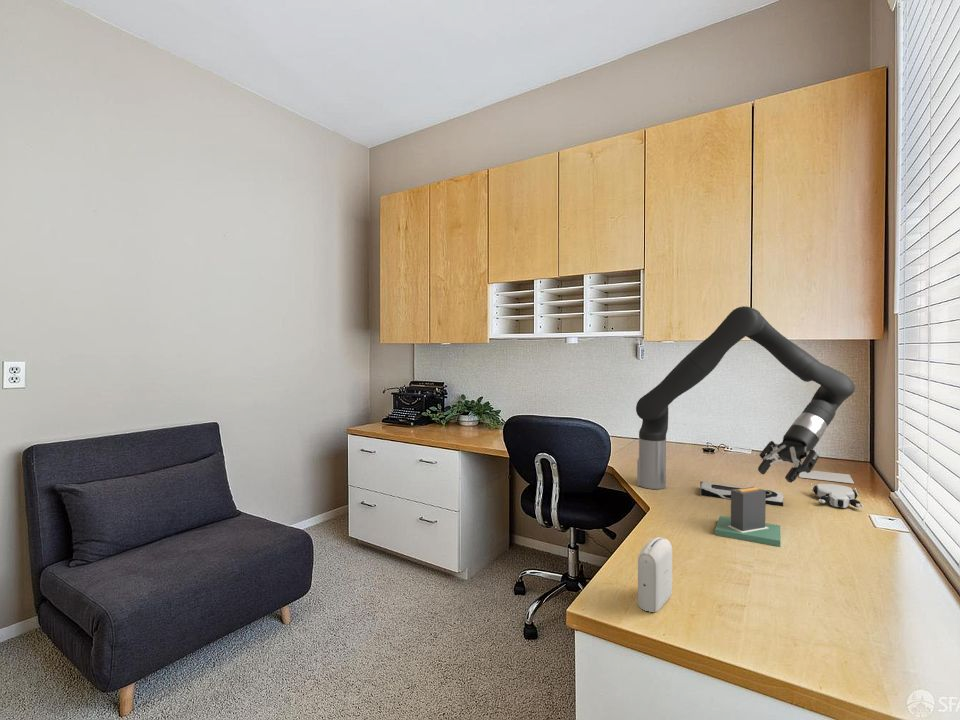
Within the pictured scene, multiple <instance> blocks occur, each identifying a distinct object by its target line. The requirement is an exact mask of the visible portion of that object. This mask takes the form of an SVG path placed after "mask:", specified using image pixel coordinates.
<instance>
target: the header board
mask: <svg viewBox="0 0 960 720" xmlns="http://www.w3.org/2000/svg"><path fill="white" fill-rule="evenodd" d="M715 526H716V527H715V528H714V535H715V536H719V537H724V538H725V537H726V538H730V539H736V540H741V541H747V542H753V543H758V544H764V545H769V546H775V547H779V548H781V525H780V524H774V523H773V524H772V523H767V522H765V528H759V529H753V530H747V531H741V530H739V529H737V528H734V527H732V526H731V516H730V517H729V516H724V515H719V517H718V520H717V523H716V525H715Z"/></svg>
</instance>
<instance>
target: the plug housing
mask: <svg viewBox="0 0 960 720" xmlns="http://www.w3.org/2000/svg"><path fill="white" fill-rule="evenodd" d="M764 490H765V489H762V490H761V488H757V487H754V486H749V487H744V488H740V489H733V490H731V500H730V518H731V526H732V527H734V528H737V529H739V530H741V531H747V530H753V529H759V528H765V523H766V506H767V504H766V491H764Z"/></svg>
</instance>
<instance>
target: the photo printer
mask: <svg viewBox="0 0 960 720" xmlns="http://www.w3.org/2000/svg"><path fill="white" fill-rule="evenodd" d="M672 590H673V546H672V544H671V542H670V541H669V540H668V539H667V538H663V537H661V536H659V537H658V536H657V537H653V538H652V539H650V540H649V541H648V542H647V543H645V545H644V546H643V547H642V549H640V552H639V554H638V557H637V605H638V607H639V608H640V609H641V610H642V609H643V610H642V611H644V610H645V611H644V612H646V611H649V612H648V613H650V612H654V613H657V612H659V611H660V609H661V608H662V607H664V605H665V604H666V602H668V599H670V597H671V596H672V592H673V591H672Z"/></svg>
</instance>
